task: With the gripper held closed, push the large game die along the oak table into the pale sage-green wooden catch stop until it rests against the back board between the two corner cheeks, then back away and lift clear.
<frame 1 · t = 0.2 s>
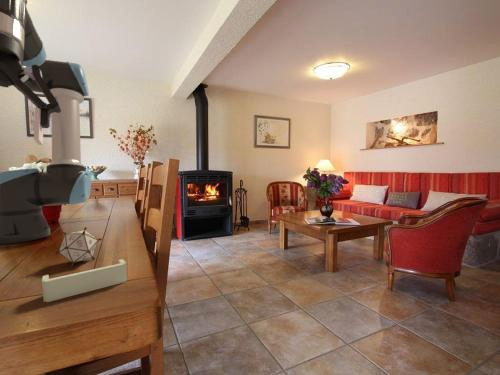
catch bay: (85, 278, 52), on the table
game die: (80, 262, 62), on the table
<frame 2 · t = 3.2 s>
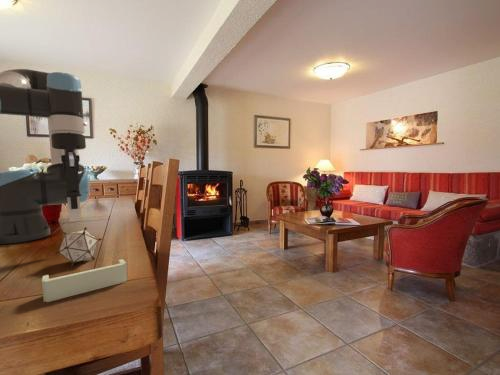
hand: (75, 220, 71), 8 cm above the table, tool pointing down, fingers closed
nothing on the table moved.
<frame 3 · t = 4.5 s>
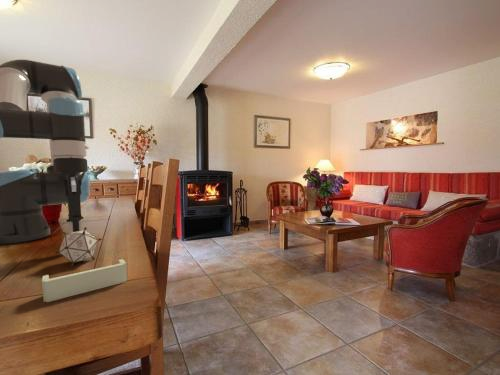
hand: (76, 244, 71), 2 cm above the table, tool pointing down, fingers closed
nothing on the table moved.
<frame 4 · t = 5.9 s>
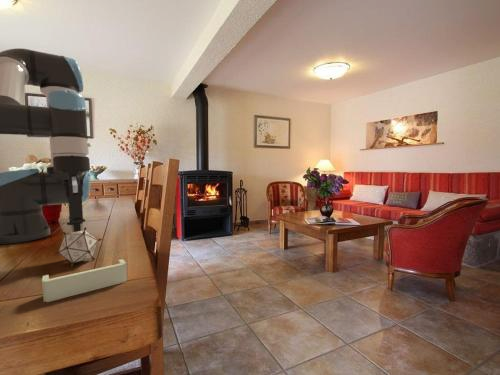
hand: (78, 248, 66), 2 cm above the table, tool pointing down, fingers closed
game die: (80, 263, 62), on the table, touching gripper
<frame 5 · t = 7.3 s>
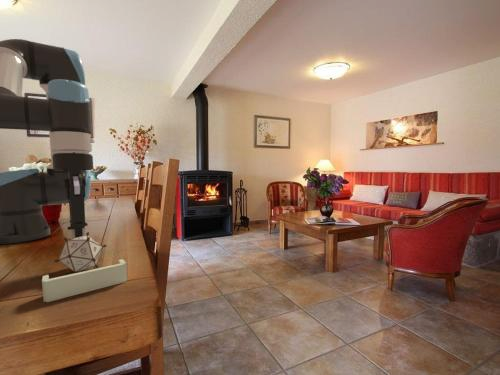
hand: (79, 255, 60), 2 cm above the table, tool pointing down, fingers closed
game die: (82, 271, 56), on the table, touching gripper
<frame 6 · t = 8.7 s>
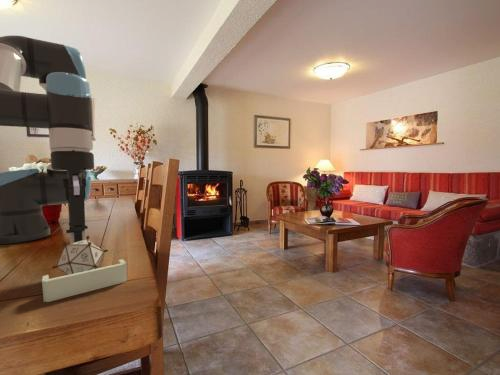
hand: (79, 260, 56), 2 cm above the table, tool pointing down, fingers closed
game die: (82, 278, 53), on the table, touching gripper
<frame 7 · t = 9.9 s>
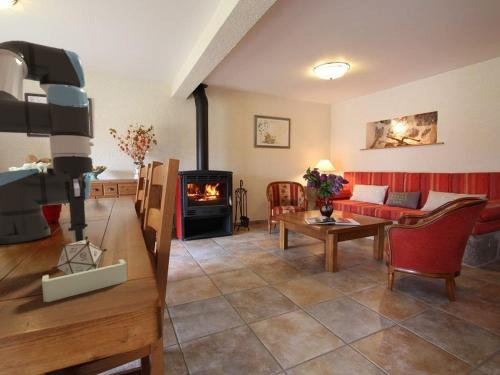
hand: (80, 255, 62), 2 cm above the table, tool pointing down, fingers closed
game die: (82, 278, 53), on the table
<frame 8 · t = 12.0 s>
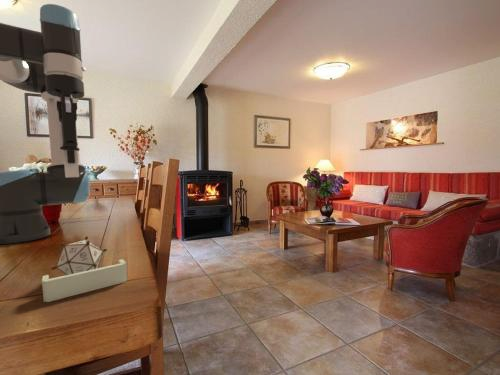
hand: (72, 177, 63), 20 cm above the table, tool pointing down, fingers closed
nothing on the table moved.
at the end: game die 1.4 cm from the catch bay (horizontally); game die on the table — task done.
